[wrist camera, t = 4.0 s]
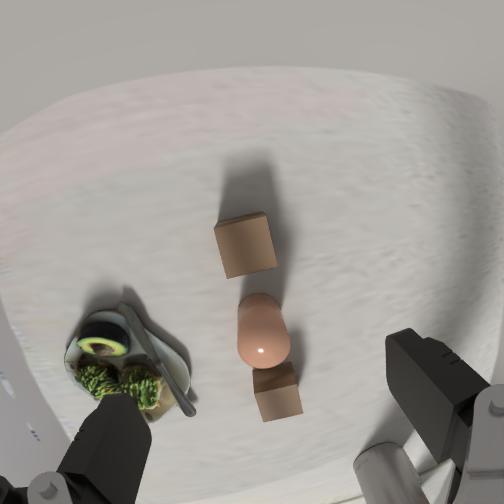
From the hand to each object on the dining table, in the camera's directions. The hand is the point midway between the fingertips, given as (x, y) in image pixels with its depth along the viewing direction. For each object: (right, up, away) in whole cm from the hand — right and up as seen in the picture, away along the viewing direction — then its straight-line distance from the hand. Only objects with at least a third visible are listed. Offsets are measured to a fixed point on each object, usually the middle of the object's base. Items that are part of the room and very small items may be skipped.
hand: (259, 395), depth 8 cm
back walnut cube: (+3, -13, +30) cm, 33 cm away
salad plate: (-17, -11, +29) cm, 36 cm away
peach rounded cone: (+1, -3, +28) cm, 28 cm away
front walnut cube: (-1, +6, +26) cm, 26 cm away
